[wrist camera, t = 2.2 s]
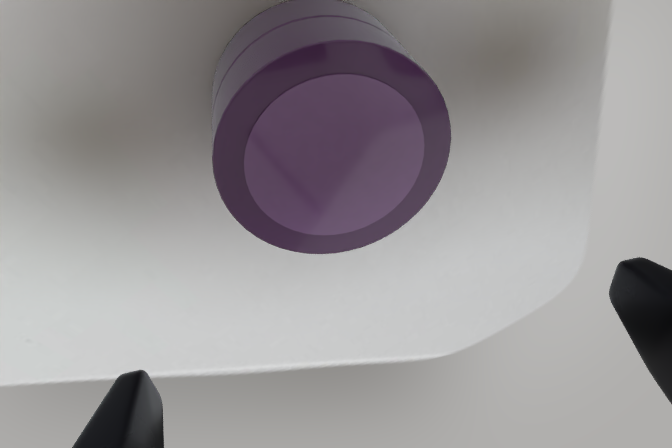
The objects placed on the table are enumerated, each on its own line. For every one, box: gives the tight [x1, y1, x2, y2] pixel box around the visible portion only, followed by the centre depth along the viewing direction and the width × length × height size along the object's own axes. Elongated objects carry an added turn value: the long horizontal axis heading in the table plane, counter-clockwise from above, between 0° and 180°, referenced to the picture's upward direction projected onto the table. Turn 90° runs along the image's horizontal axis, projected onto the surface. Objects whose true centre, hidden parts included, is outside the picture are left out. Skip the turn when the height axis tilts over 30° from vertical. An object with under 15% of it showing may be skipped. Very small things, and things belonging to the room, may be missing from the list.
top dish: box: [212, 17, 451, 254], centre depth 14 cm, size 7×7×2 cm
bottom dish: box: [212, 0, 404, 119], centre depth 16 cm, size 7×7×2 cm
